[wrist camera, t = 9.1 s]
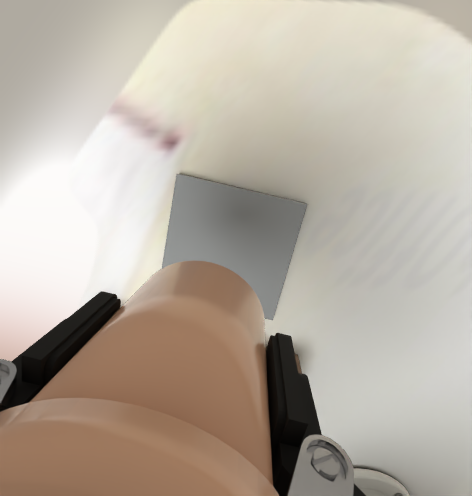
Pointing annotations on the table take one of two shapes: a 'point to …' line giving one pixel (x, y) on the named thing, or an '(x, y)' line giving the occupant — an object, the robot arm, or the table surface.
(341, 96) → the table surface
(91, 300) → the robot arm
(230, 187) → the slate mat
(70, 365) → the terracotta pot
